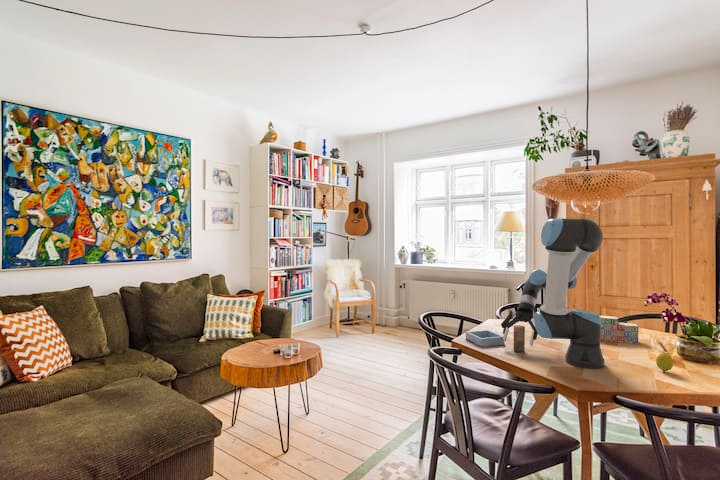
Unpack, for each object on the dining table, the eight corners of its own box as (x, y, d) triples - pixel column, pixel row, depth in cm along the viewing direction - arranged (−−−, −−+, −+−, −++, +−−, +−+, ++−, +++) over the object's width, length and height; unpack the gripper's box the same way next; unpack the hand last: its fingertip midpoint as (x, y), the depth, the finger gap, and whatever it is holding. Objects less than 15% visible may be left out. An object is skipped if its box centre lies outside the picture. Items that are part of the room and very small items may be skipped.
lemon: (654, 371, 160) (655, 352, 160) (657, 368, 164) (657, 349, 164) (671, 375, 156) (672, 355, 156) (673, 371, 160) (674, 352, 160)
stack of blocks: (635, 341, 205) (636, 318, 205) (638, 344, 200) (638, 320, 199) (589, 336, 215) (589, 314, 214) (590, 339, 209) (591, 316, 209)
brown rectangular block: (526, 352, 185) (527, 327, 185) (518, 353, 184) (518, 328, 184) (519, 349, 190) (520, 325, 190) (511, 349, 189) (511, 325, 188)
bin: (504, 344, 198) (504, 336, 198) (480, 346, 194) (480, 338, 194) (487, 337, 211) (488, 329, 211) (465, 339, 207) (465, 331, 207)
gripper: (553, 313, 191) (545, 351, 180) (504, 307, 206) (494, 341, 195) (551, 304, 187) (543, 342, 175) (501, 298, 202) (490, 333, 190)
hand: (517, 342), depth 185 cm, fingers open, 12 cm apart
